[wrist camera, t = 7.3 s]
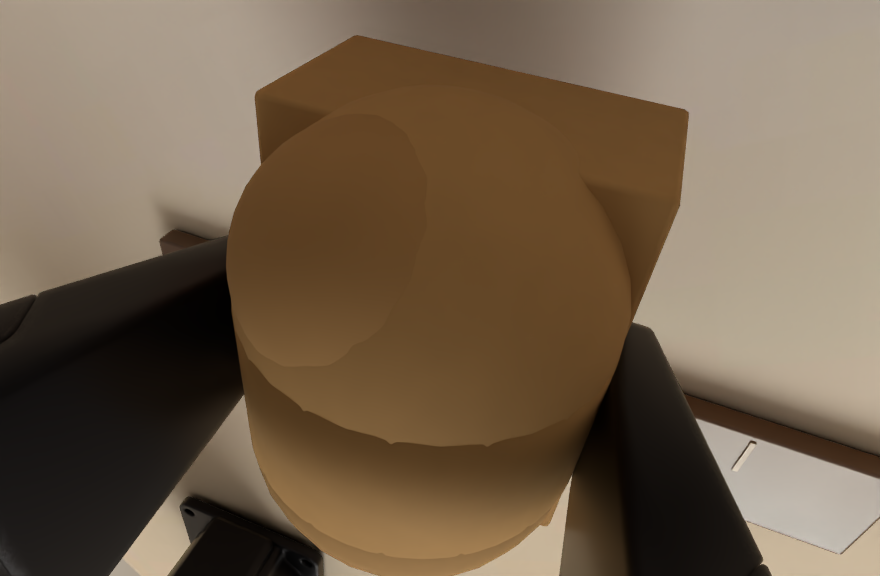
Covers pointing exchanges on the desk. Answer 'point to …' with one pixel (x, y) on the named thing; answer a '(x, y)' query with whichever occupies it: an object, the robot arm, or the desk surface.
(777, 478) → the walnut ruler
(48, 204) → the desk surface
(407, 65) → the tan arched block
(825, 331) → the desk surface
